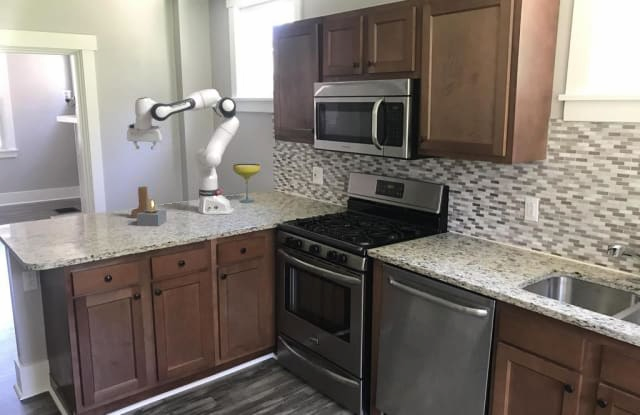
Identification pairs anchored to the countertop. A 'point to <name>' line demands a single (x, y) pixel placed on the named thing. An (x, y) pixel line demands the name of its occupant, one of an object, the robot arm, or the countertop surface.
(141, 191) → the wooden block
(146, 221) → the hole holder
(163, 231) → the countertop surface
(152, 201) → the brass pin
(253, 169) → the cocktail glass
